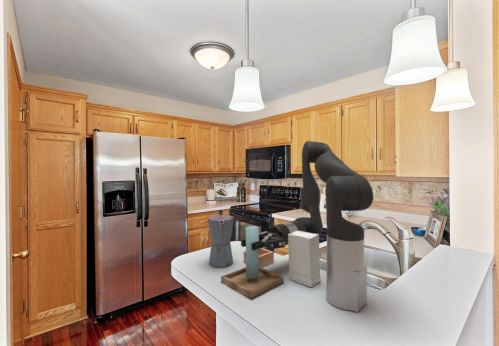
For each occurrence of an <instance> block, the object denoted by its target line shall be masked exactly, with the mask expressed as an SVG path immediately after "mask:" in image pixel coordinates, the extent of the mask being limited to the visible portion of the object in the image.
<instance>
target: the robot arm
mask: <svg viewBox="0 0 499 346" xmlns="http://www.w3.org/2000/svg"><path fill="white" fill-rule="evenodd" d="M311 164H314V170H315V173H316V174H317V176H318V178H319V179H320V180H321V181H322V183H323V182H324V183H325V191H324V192H325V193H324V194H325V212H326V213H325V214H326V217H325V218H326V219H325V220H326V221H325V222H326V278H325V279H326V281H325V282H326V286H325V288H326V289H325V291H326V294H325V296H326V297H325V298H326V300H327V301H328V303H329V304H331V305H332V306H334V307H335V308H338V309H342V310H346V311H352V312H356V313H359V311H360V310H361V309H362V308H363V307H364V306H365V305H366V304H367V302H368V301H367V299H368V298H367V297H368V295H367V293H368V291H367V290H368V267H367V266H365V229H364V227H363V226H362V225H360V224H359V223H356V222H352V221H349V220H348V219H345V218H344V217H343V213H342V211H343V212H360V211H361V212H362V211H365V210H367V209H369V208H370V207H371V206H372V204H373V202H374V191H373V187H372V185H371V184H370V181H368V179H367V178H366V177H365V176H363V175H362V174H360V173H358V172H356V171H354V170H353V169H352V168H351V167H349V166H348V165H347V164H346V163H344V161H342V160H341V158H339V157H338V156H337V155H336V154H335V153H334V152H333V151H332V149H331V147H330V146H329V144H327V143H324V142H319V141H313V140H311V141H310V140H307V141H305V142H304V144H303V147H302V150H301V171H302V172H301V173H302V174H301V176H302V195H301V196H302V197H301V209H302V210H303V211H304V212H308V213H309V215H310V216H309V217H305V216H303V217H302V216H301V217H298V218H296V219H294V220H292V221H288V222H281V223H278V224H277V223H276V224H273V225H270V226H269V227H268V228H267V230H266V231H262V232H259V241H257V242H253V243H252V244H251V250H253V251H254V250H257V249H260V248H262V249H267V250H270V251H272V250H277V249H282V248H285V246H287V245H288V234H290V233H293V232H295V231H302V232H307V233H313V234H319V236H320V235H321V234H322V232H323V229H324V224H323V220H322V216H321V215H322V214H321V210H320V201H321V190H320V186H319V184H318V182H317V180H316V179H315V177H314V175H313V172H312V169H311ZM240 246H241V247H243V248H246V237H245V238H242V239H241V240H240Z"/></svg>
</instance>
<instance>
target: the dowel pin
mask: <svg viewBox="0 0 499 346" xmlns="http://www.w3.org/2000/svg"><path fill="white" fill-rule="evenodd" d="M259 233H260V227H259V226H258V225H257V226H256V225H249V226H245V238H246V246H245V251H246V263H245V267H246V277H247V278H250V279H255V278H258V277H259V249H257V250H254V251H253V250H251V244H252V243H253V242H257V241H259Z"/></svg>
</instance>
